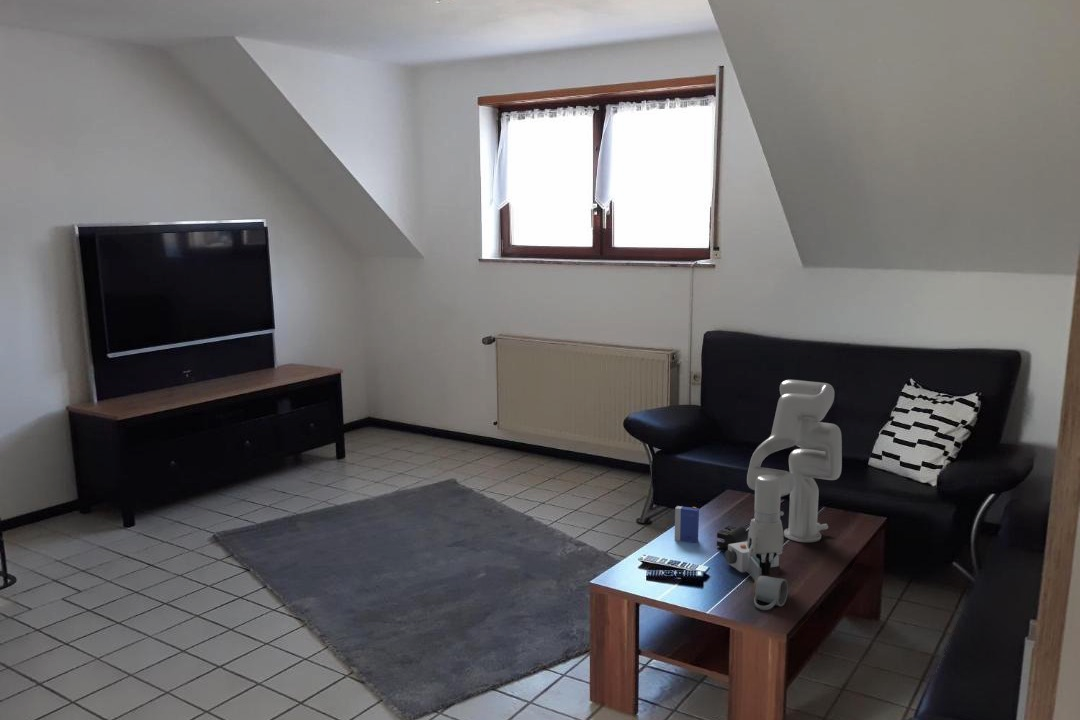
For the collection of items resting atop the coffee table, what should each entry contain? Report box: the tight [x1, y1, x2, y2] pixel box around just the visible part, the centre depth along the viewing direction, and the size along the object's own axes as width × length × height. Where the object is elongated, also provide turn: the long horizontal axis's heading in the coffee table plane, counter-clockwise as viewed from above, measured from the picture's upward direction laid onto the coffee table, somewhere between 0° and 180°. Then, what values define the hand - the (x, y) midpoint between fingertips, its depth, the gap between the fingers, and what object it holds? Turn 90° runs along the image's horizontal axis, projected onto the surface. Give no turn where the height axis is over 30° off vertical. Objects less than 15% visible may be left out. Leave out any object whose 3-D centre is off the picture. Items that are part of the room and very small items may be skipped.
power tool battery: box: [716, 525, 748, 553], centre depth 291 cm, size 10×7×7 cm
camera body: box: [724, 540, 780, 573], centre depth 276 cm, size 16×8×7 cm, turn 111°
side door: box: [746, 554, 762, 582], centre depth 265 cm, size 12×1×6 cm, turn 3°
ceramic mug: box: [752, 575, 789, 611], centre depth 248 cm, size 11×8×8 cm
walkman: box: [674, 505, 700, 544], centre depth 298 cm, size 8×3×12 cm, turn 68°
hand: (764, 573), depth 263 cm, fingers closed
